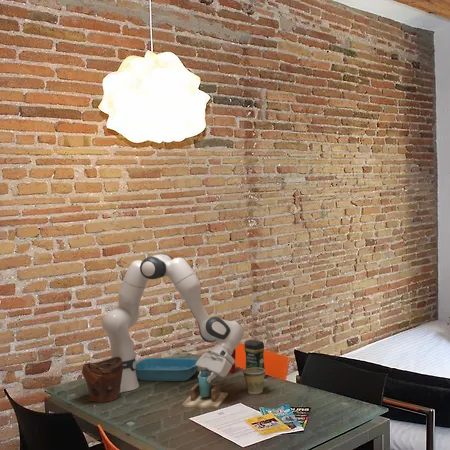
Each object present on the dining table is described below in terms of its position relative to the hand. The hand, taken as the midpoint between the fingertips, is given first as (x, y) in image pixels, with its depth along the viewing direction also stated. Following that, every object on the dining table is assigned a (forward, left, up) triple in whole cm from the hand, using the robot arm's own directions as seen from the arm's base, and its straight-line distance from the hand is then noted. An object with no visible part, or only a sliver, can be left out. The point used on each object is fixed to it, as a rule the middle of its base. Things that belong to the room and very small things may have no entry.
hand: (203, 380), depth 272 cm
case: (-48, -2, -10) cm, 49 cm away
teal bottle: (0, 0, -7) cm, 7 cm away
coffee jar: (+16, +37, -10) cm, 41 cm away
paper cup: (0, +44, -10) cm, 45 cm away
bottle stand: (0, 0, -9) cm, 9 cm away
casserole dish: (-31, +35, -10) cm, 48 cm away
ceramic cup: (+20, +16, -10) cm, 28 cm away
